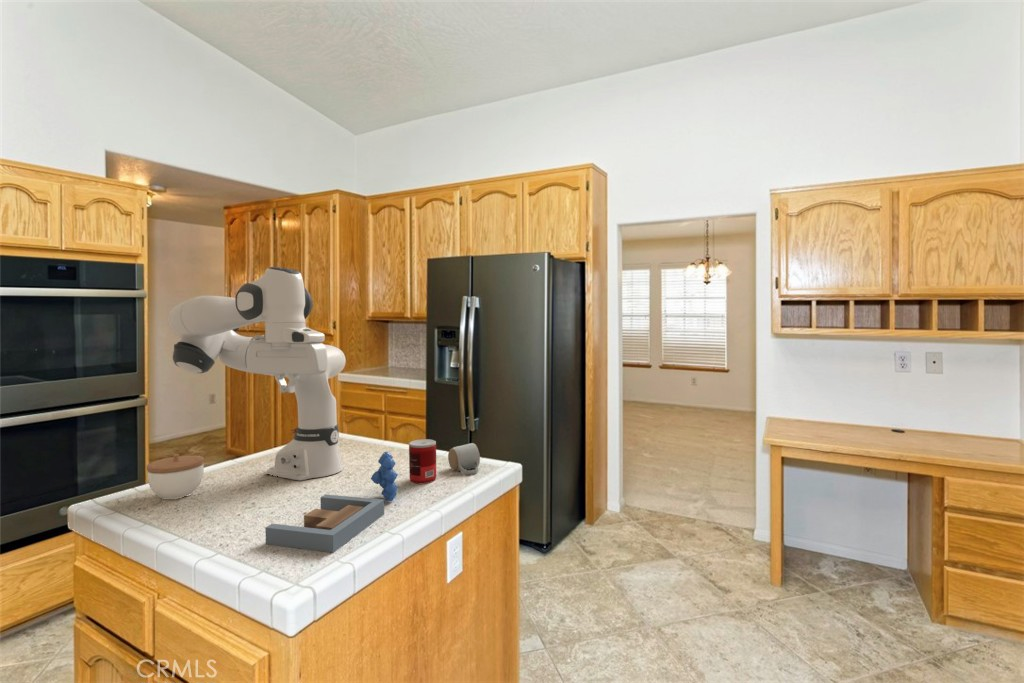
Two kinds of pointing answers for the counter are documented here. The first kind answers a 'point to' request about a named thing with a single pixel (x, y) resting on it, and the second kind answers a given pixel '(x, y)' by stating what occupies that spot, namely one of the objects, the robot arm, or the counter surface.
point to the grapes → (386, 476)
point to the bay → (328, 538)
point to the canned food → (422, 461)
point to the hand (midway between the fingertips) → (287, 392)
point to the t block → (328, 517)
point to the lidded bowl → (175, 475)
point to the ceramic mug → (464, 458)
